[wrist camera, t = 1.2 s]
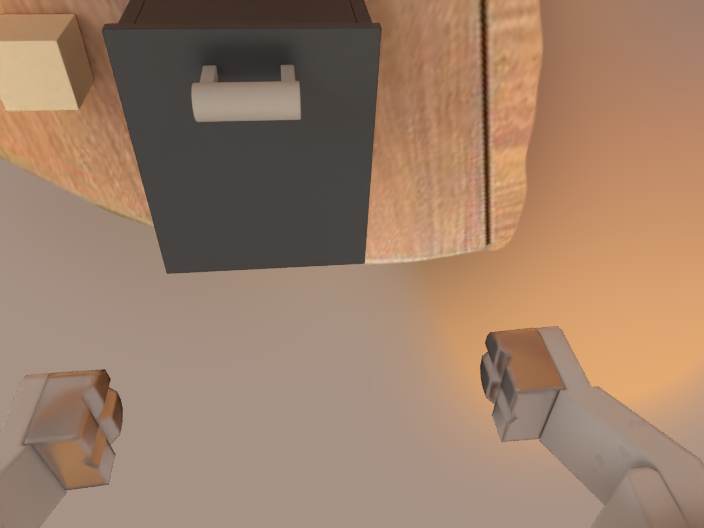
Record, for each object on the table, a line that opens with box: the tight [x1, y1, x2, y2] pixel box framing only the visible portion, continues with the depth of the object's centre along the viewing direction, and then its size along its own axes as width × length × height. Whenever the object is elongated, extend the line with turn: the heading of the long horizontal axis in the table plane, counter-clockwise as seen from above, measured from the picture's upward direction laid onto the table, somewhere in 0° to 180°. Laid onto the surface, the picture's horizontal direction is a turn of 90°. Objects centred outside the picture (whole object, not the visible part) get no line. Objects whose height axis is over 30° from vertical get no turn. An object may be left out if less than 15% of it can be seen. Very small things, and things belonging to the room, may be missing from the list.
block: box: [0, 14, 94, 111], centre depth 36 cm, size 4×4×4 cm
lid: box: [102, 23, 381, 274], centre depth 32 cm, size 17×14×5 cm
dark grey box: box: [118, 0, 372, 24], centre depth 38 cm, size 16×14×10 cm
